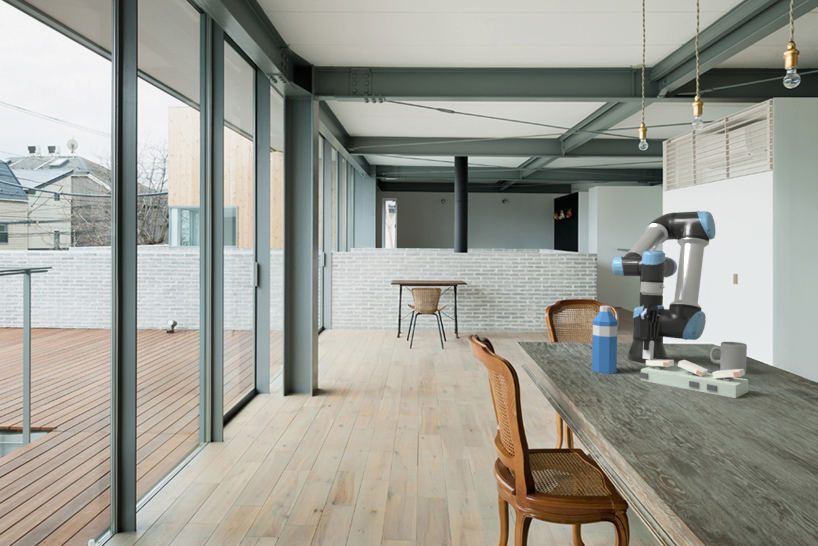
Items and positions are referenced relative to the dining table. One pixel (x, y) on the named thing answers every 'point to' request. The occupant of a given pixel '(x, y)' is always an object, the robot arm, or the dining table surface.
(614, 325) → the water bottle
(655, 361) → the block
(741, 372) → the rocker right
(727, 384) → the switch unit
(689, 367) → the rocker middle
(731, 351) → the mug
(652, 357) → the robot arm
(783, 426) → the dining table surface
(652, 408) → the dining table surface
